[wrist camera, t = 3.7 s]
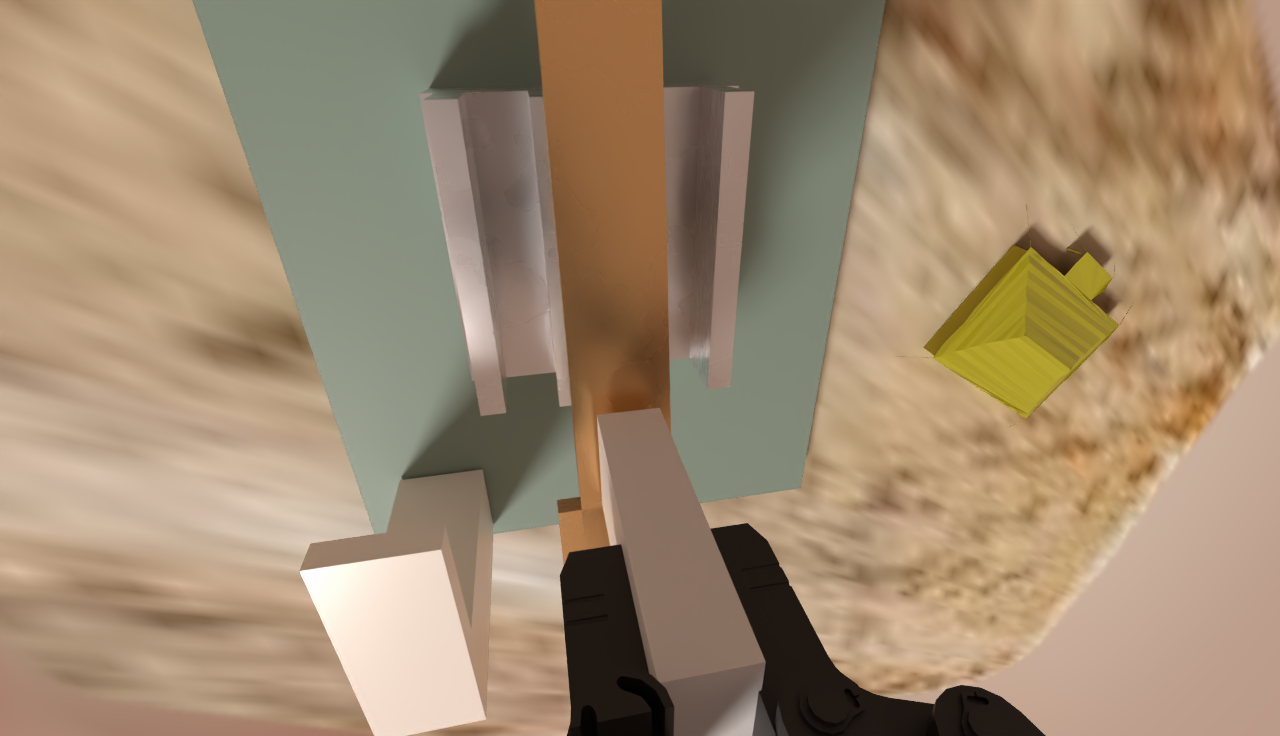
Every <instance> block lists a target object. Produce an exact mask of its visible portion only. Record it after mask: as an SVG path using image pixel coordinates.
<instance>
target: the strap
mask: <svg viewBox="0 0 1280 736" xmlns="http://www.w3.org/2000/svg"><path fill="white" fill-rule="evenodd" d="M534 9H535V20H536V31H537V41H538V52H539V63H540V74H541V85H542V96H543V106H544V117H545V128H546V139H547V150H548V161H549V171H550V182H551V193H552V204H553V215H554V226H555V236H556V247H557V258H558V269H559V280H560V291H561V301H562V312H563V323H564V334H565V345H566V356H567V366H568V377H569V388H570V399H571V410H572V421H573V431H574V442H575V453H576V464H577V475H578V486H579V496H580V497H575V498H568V499H561V500H557V506H558V516H559V525H560V534H561V543H562V552H563V561H564V564H565V562H566V559H567V556H568V554H569V552H574V551H580V550H587V549H593V548H600V547H606V546H610V542H609V537H608V532H607V526H606V521H605V516H604V511H603V506H602V493H601V476H600V459H599V442H598V426H597V415H601V414H610V413H618V412H627V411H636V410H644V409H653V408H660V409H661V412H662V414H663V417H664V419H665V421H666V424H667V426H668V429H669V431H670V433H671V410H670V364H669V317H668V271H667V225H666V179H665V133H664V87H663V41H662V0H534Z"/></svg>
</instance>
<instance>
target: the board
mask: <svg viewBox="0 0 1280 736" xmlns="http://www.w3.org/2000/svg"><path fill="white" fill-rule="evenodd" d="M885 2H886V0H662V41H663V83H676V82H721V83H726V84H732V85H737V86H739V89H744V90H750V91H754V103H753V115H752V127H751V139H750V151H749V163H748V175H747V187H746V199H745V212H744V224H743V236H742V248H741V260H740V272H739V284H738V296H737V309H736V321H735V333H734V345H733V357H732V369H731V381H730V387H727V388H718V389H710V390H707V388H706V386H705V384H704V382H703V381H702V379H701V377H700V375H699V374H698V372H697V370H696V368H695V367H694V365H693V363H692V361H691V360H690V358H686V359H676V360H669V364H670V410H671V436H672V438H673V441H674V443H675V445H676V448H677V450H678V453H679V455H680V457H681V460H682V462H683V465H684V467H685V469H686V472H687V474H688V477H689V479H690V481H691V484H692V486H693V489H694V491H695V493H696V496H697V498H698V501H699V503H704V502H711V501H717V500H724V499H731V498H737V497H744V496H751V495H757V494H764V493H771V492H777V491H784V490H791V489H798V488H801V483H802V477H803V472H804V466H805V460H806V455H807V449H808V443H809V437H810V432H811V426H812V420H813V414H814V409H815V403H816V397H817V392H818V386H819V380H820V374H821V369H822V363H823V357H824V352H825V346H826V340H827V334H828V329H829V323H830V317H831V311H832V306H833V300H834V294H835V289H836V283H837V277H838V271H839V266H840V260H841V254H842V248H843V243H844V237H845V231H846V226H847V220H848V214H849V208H850V203H851V197H852V191H853V186H854V180H855V174H856V168H857V163H858V157H859V151H860V145H861V140H862V134H863V128H864V123H865V117H866V111H867V105H868V100H869V94H870V88H871V83H872V77H873V71H874V65H875V60H876V54H877V48H878V42H879V37H880V31H881V25H882V20H883V14H884V8H885ZM193 3H194V6H195V9H196V12H197V15H198V18H199V21H200V24H201V27H202V30H203V33H204V36H205V39H206V41H207V44H208V47H209V50H210V53H211V56H212V59H213V62H214V65H215V68H216V71H217V74H218V77H219V80H220V83H221V85H222V88H223V91H224V94H225V97H226V100H227V103H228V106H229V109H230V112H231V115H232V118H233V121H234V124H235V126H236V129H237V132H238V135H239V138H240V141H241V144H242V147H243V150H244V153H245V156H246V159H247V162H248V165H249V168H250V170H251V173H252V176H253V179H254V182H255V185H256V188H257V191H258V194H259V197H260V200H261V203H262V206H263V209H264V211H265V214H266V217H267V220H268V223H269V226H270V229H271V232H272V235H273V238H274V241H275V244H276V247H277V250H278V253H279V255H280V258H281V261H282V264H283V267H284V270H285V273H286V276H287V279H288V282H289V285H290V288H291V291H292V294H293V296H294V299H295V302H296V305H297V308H298V311H299V314H300V317H301V320H302V323H303V326H304V329H305V332H306V335H307V338H308V340H309V343H310V346H311V349H312V352H313V355H314V358H315V361H316V364H317V367H318V370H319V373H320V376H321V379H322V381H323V384H324V387H325V390H326V393H327V396H328V399H329V402H330V405H331V408H332V411H333V414H334V417H335V420H336V423H337V425H338V428H339V431H340V434H341V437H342V440H343V443H344V446H345V449H346V452H347V455H348V458H349V461H350V464H351V466H352V469H353V472H354V475H355V478H356V481H357V484H358V487H359V490H360V493H361V496H362V499H363V502H364V505H365V508H366V510H367V513H368V516H369V519H370V522H371V525H372V528H373V531H374V534H381V533H386V531H387V527H388V524H389V520H390V516H391V512H392V508H393V504H394V500H395V497H396V493H397V489H398V485H399V481H400V480H405V479H413V478H421V477H428V476H436V475H444V474H451V473H459V472H467V471H474V470H482V469H483V474H484V480H485V485H486V490H487V495H488V500H489V506H490V511H491V516H492V521H493V526H494V528H493V534H496V533H503V532H510V531H516V530H523V529H530V528H536V527H543V526H550V525H557V524H559V516H558V506H557V500H561V499H568V498H575V497H580V496H579V486H578V475H577V464H576V453H575V442H574V431H573V421H572V410H571V406H563V407H560V405H559V397H558V390H557V382H556V375H555V372H553V373H543V374H534V375H524V376H515V377H507V398H506V413H502V414H493V415H485V416H481V415H480V409H479V404H478V398H477V393H476V387H475V382H474V381H472V377H471V372H470V367H469V361H468V356H467V350H466V345H465V340H464V334H463V329H462V323H461V318H460V313H459V307H458V302H457V297H456V291H455V286H454V280H453V275H452V270H451V264H450V259H449V253H448V248H447V243H446V237H445V232H444V226H443V221H442V216H441V210H440V205H439V200H438V194H437V189H436V183H435V178H434V173H433V167H432V162H431V156H430V151H429V146H428V140H427V135H426V130H425V124H424V119H423V113H422V108H421V103H420V97H419V93H421V92H423V91H425V90H427V89H429V88H457V87H501V86H542V85H541V74H540V63H539V52H538V41H537V31H536V20H535V9H534V0H193Z"/></svg>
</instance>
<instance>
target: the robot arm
mask: <svg viewBox="0 0 1280 736" xmlns="http://www.w3.org/2000/svg"><path fill="white" fill-rule="evenodd" d="M597 426H598V442H599V459H600V476H601V493H602V506H603V511H604V516H605V521H606V526H607V532H608V537H609V542H610V546H606V547H600V548H593V549H587V550H580V551H574V552H569V554H568V556H567V559H566V562H565V564H564V567H563V569H562V572H561V574H560V582H561V594H562V605H563V618H564V630H565V642H566V654H567V665H568V677H569V689H570V701H571V723H570V726H569V730H568V733H567V736H1045V735H1044V734H1043V733H1042V732H1041V731H1040V730H1039V729H1038V728H1037V727H1036V726H1035V725H1034V724H1033V723H1032V722H1031V721H1030V720H1029V719H1027V717H1026V716H1024V715H1023V714H1022V713H1021V712H1020V711H1019V710H1017V709H1016V708H1015V707H1014V706H1012V705H1011V704H1010V703H1008V702H1007V701H1006V700H1005V699H1003V698H1002V697H1000V696H998V695H995V694H994V693H991V692H989V691H987V690H985V689H982V688H979V687H972V686H965V685H960V686H956V687H952V688H949V689H946V690H945V691H944V692H943V693H942V694H941V695H940V696H939V698H938V699H937V700H936V702H935V704H929V703H922V702H915V701H908V700H901V699H894V698H888V697H884V696H880V695H876V694H873V693H871V692H869V691H866V690H864V689H862V688H860V687H859V686H858V685H857V684H856V683H855V682H853V681H852V680H850V679H849V678H848V677H846V676H845V675H844V674H842V673H841V672H840V671H839V670H838V669H837V668H836V667H835V666H834V664H833V663H832V661H831V660H830V658H829V657H828V655H827V653H826V651H825V649H824V647H823V645H822V644H821V642H820V640H819V638H818V636H817V634H816V632H815V630H814V628H813V626H812V625H811V623H810V621H809V619H808V617H807V615H806V613H805V611H804V609H803V607H802V606H801V604H800V602H799V600H798V598H797V596H796V594H795V592H794V590H793V588H792V587H791V586H790V585H789V581H788V579H787V577H786V575H785V573H784V571H783V569H782V567H780V566H779V562H778V560H777V558H776V556H775V554H774V552H773V550H772V548H771V547H770V545H769V543H768V541H767V540H766V539H765V538H764V537H763V536H761V535H760V534H759V533H758V532H757V531H756V530H755V529H754V528H752V527H751V526H750V525H749V524H748V523H745V524H739V525H732V526H726V527H719V528H713V529H710V527H709V525H708V522H707V520H706V517H705V515H704V513H703V510H702V508H701V505H700V503H699V501H698V498H697V496H696V493H695V491H694V489H693V486H692V484H691V481H690V479H689V477H688V474H687V472H686V469H685V467H684V465H683V462H682V460H681V457H680V455H679V453H678V450H677V448H676V445H675V443H674V441H673V438H672V436H671V433H670V431H669V429H668V426H667V424H666V421H665V419H664V417H663V414H662V412H661V409H660V408H653V409H644V410H636V411H627V412H618V413H610V414H601V415H597Z"/></svg>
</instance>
